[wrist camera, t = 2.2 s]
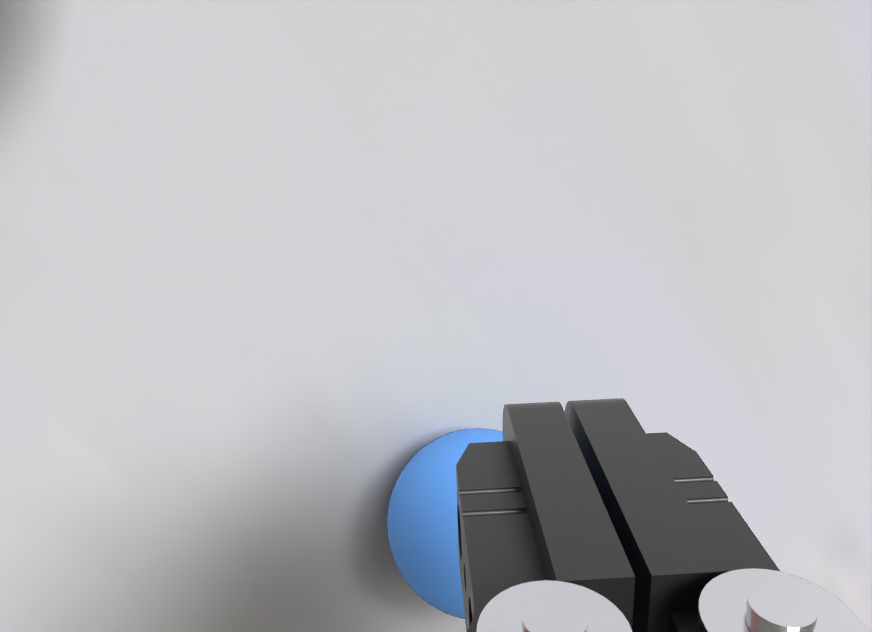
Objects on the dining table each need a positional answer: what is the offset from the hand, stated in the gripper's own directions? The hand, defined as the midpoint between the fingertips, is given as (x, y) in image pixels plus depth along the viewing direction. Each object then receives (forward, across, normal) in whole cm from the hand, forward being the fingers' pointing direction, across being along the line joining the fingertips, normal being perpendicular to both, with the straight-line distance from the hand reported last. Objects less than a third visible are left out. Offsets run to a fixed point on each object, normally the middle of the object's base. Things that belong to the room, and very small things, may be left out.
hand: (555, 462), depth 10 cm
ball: (+12, 0, +10) cm, 15 cm away
